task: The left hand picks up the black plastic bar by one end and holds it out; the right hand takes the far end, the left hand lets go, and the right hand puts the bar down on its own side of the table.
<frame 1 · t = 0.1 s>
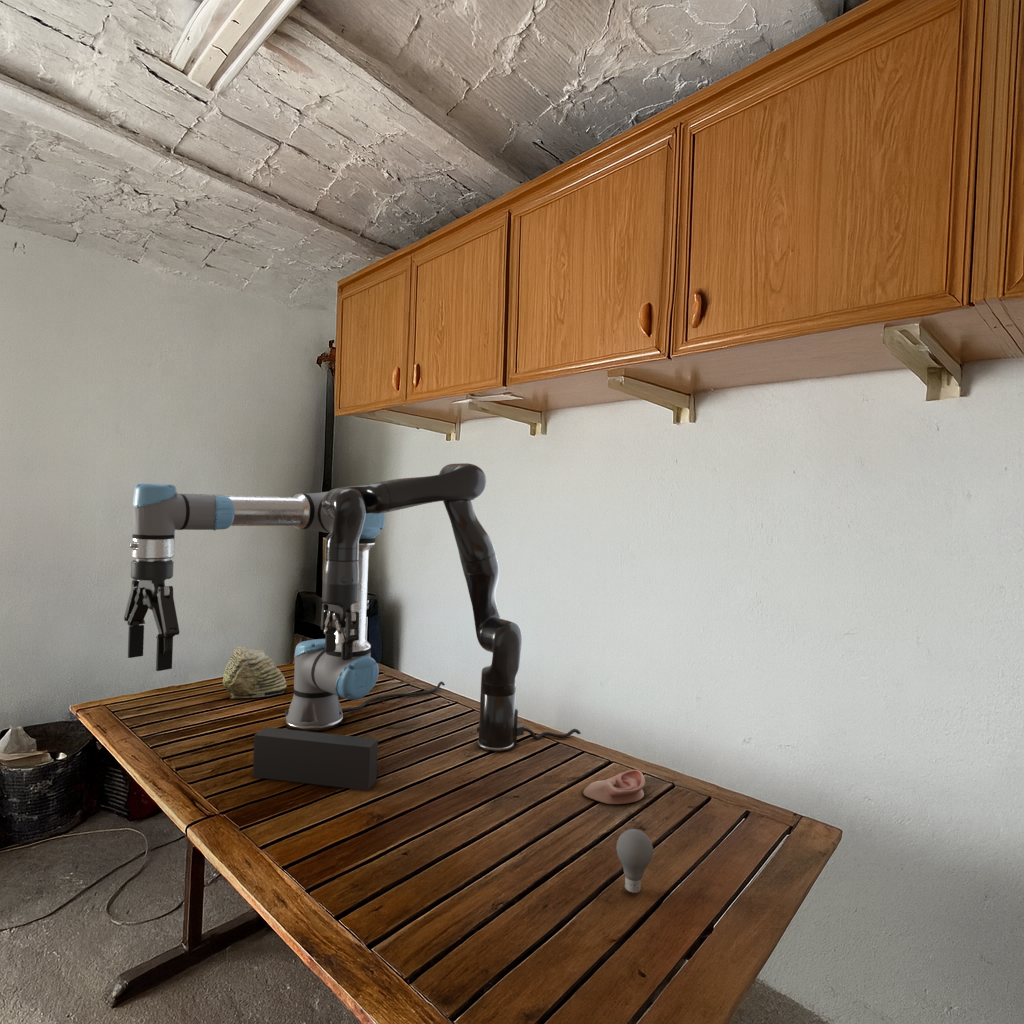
left hand: (149, 663, 129), 28 cm above the table, tool pointing down, fingers open, 13 cm apart
right hand: (338, 655, 137), 29 cm above the table, tool pointing down, fingers open, 8 cm apart
light bulb: (632, 891, 106), on the table
anatomical model: (614, 793, 141), on the table
bar: (314, 779, 142), on the table
fossil: (254, 694, 198), on the table
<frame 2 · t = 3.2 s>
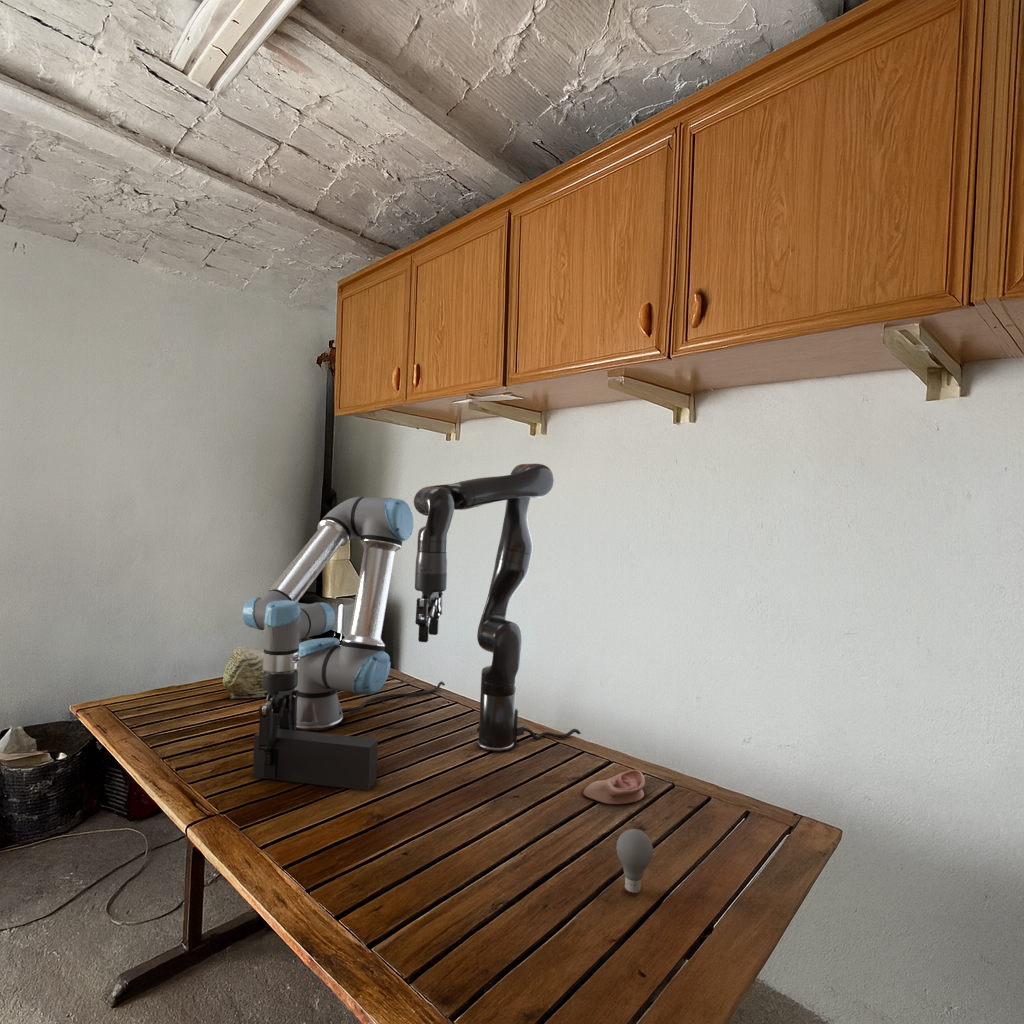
left hand: (276, 772, 143), 1 cm above the table, tool pointing down, fingers closed on bar, 5 cm apart
right hand: (428, 638, 151), 31 cm above the table, tool pointing down, fingers open, 8 cm apart
bar: (314, 779, 142), on the table, touching left hand
everything else where it was.
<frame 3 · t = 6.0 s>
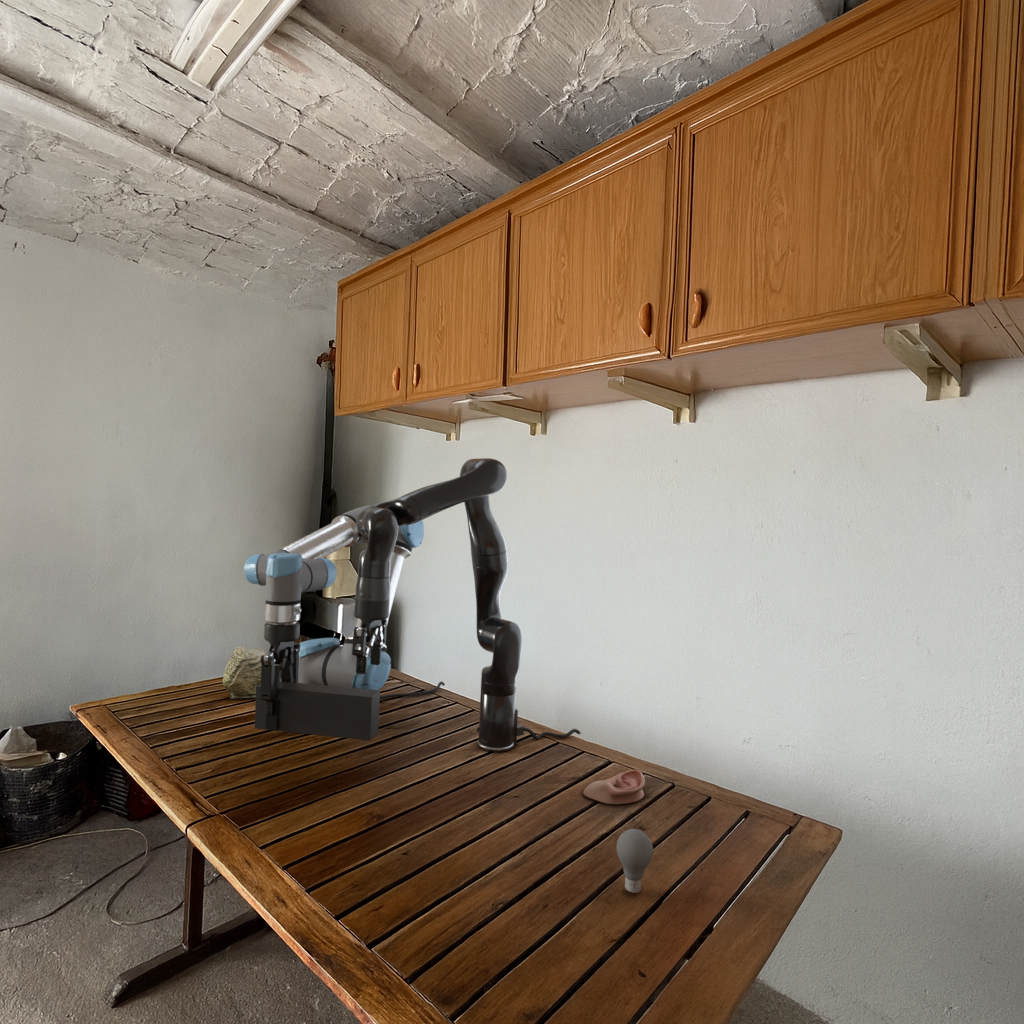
left hand: (278, 724, 143), 12 cm above the table, tool pointing down, fingers closed on bar, 5 cm apart
right hand: (368, 668, 142), 25 cm above the table, tool pointing down, fingers open, 8 cm apart
bar: (316, 730, 142), point 11 cm above the table, touching left hand
everything else where it was.
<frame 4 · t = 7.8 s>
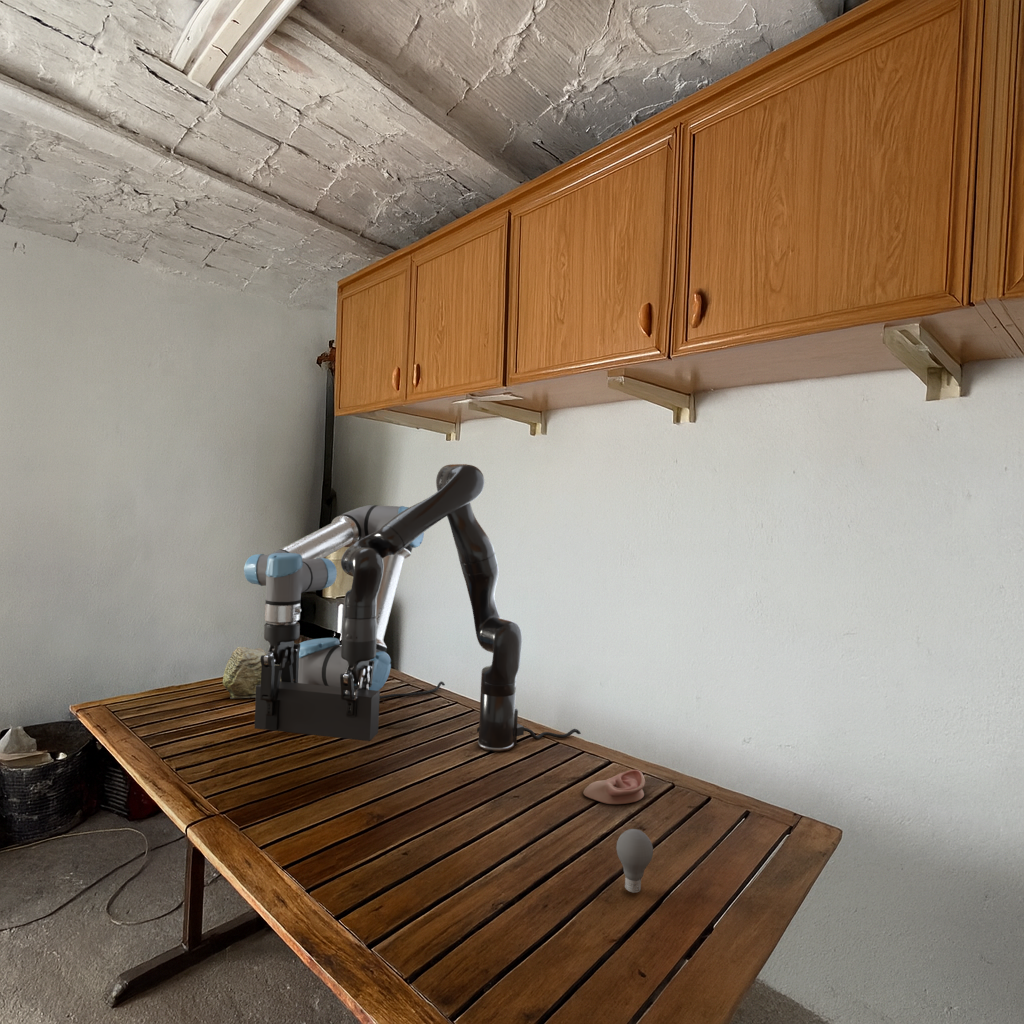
left hand: (278, 724, 143), 12 cm above the table, tool pointing down, fingers closed on bar, 5 cm apart
right hand: (356, 712, 140), 16 cm above the table, tool pointing down, fingers closed on bar, 5 cm apart
bar: (316, 730, 142), point 11 cm above the table, touching left hand, right hand
everything else where it was.
when the left hand's fingers open (12 cm above the table, at t = 8.7 s): bar stays where it is, held by the right hand.
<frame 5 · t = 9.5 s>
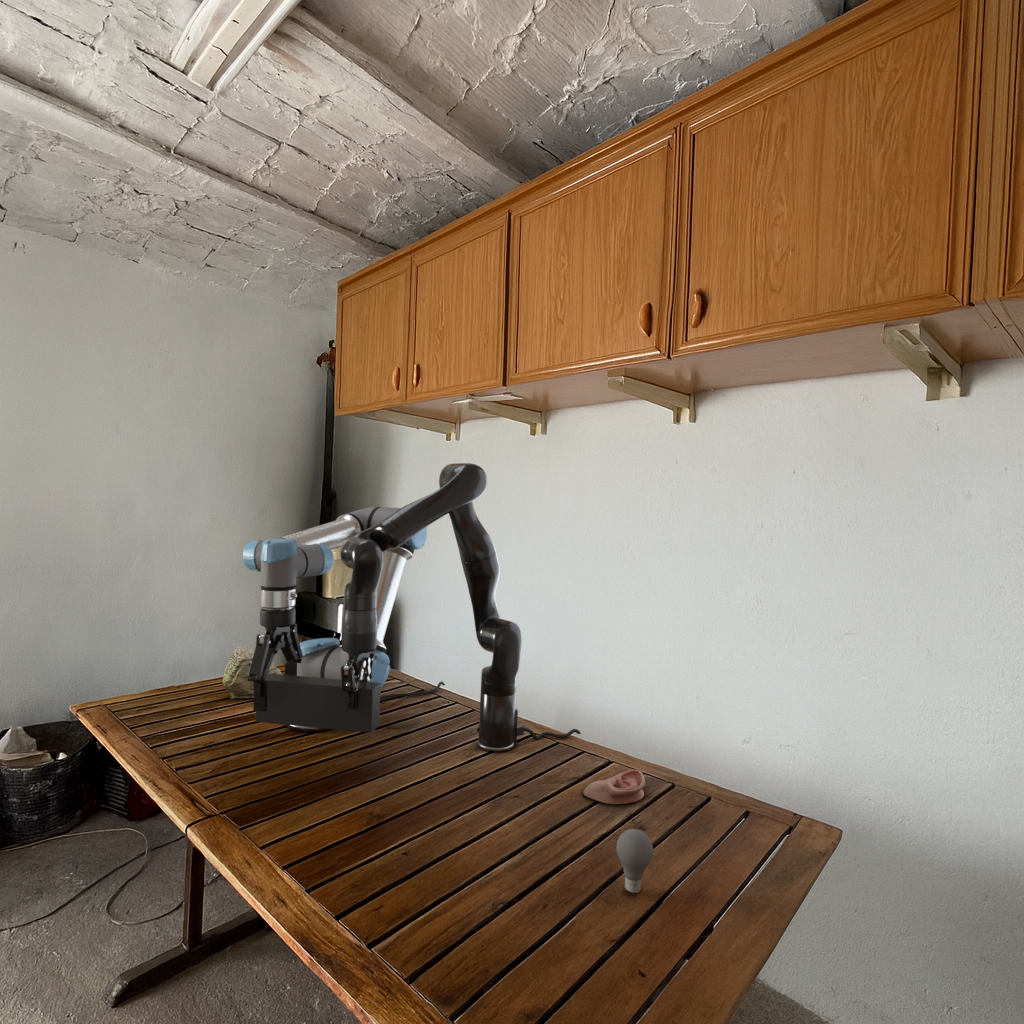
left hand: (276, 700, 144), 17 cm above the table, tool pointing down, fingers open, 13 cm apart
right hand: (357, 704, 140), 18 cm above the table, tool pointing down, fingers closed on bar, 5 cm apart
bar: (317, 723, 142), point 13 cm above the table, touching right hand
everything else where it was.
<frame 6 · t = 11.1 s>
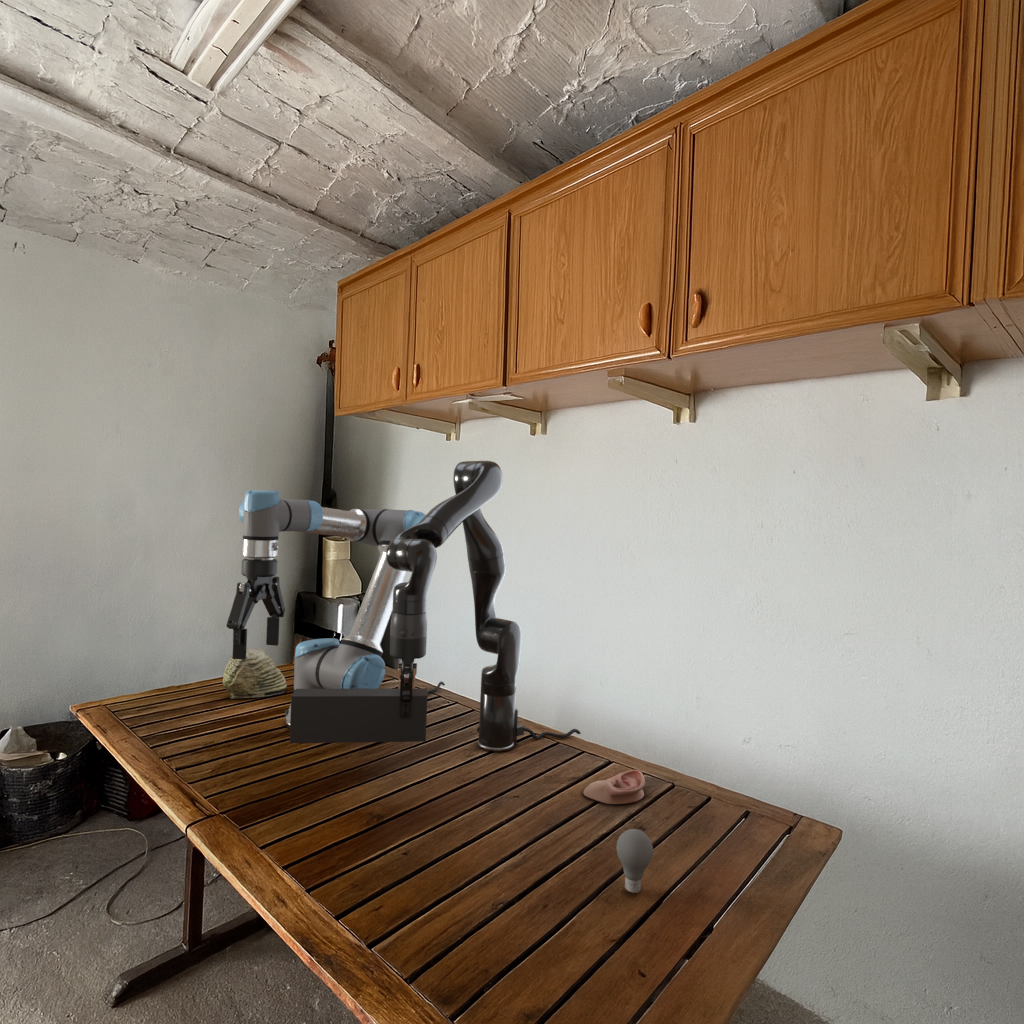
left hand: (256, 651, 144), 27 cm above the table, tool pointing down, fingers open, 13 cm apart
right hand: (405, 713, 133), 19 cm above the table, tool pointing down, fingers closed on bar, 5 cm apart
bar: (359, 737, 131), point 14 cm above the table, touching right hand
everything else where it was.
when the right hand's fingers open (6 cm above the table, at t = 14.7 s): bar drops 1 cm, on the table.
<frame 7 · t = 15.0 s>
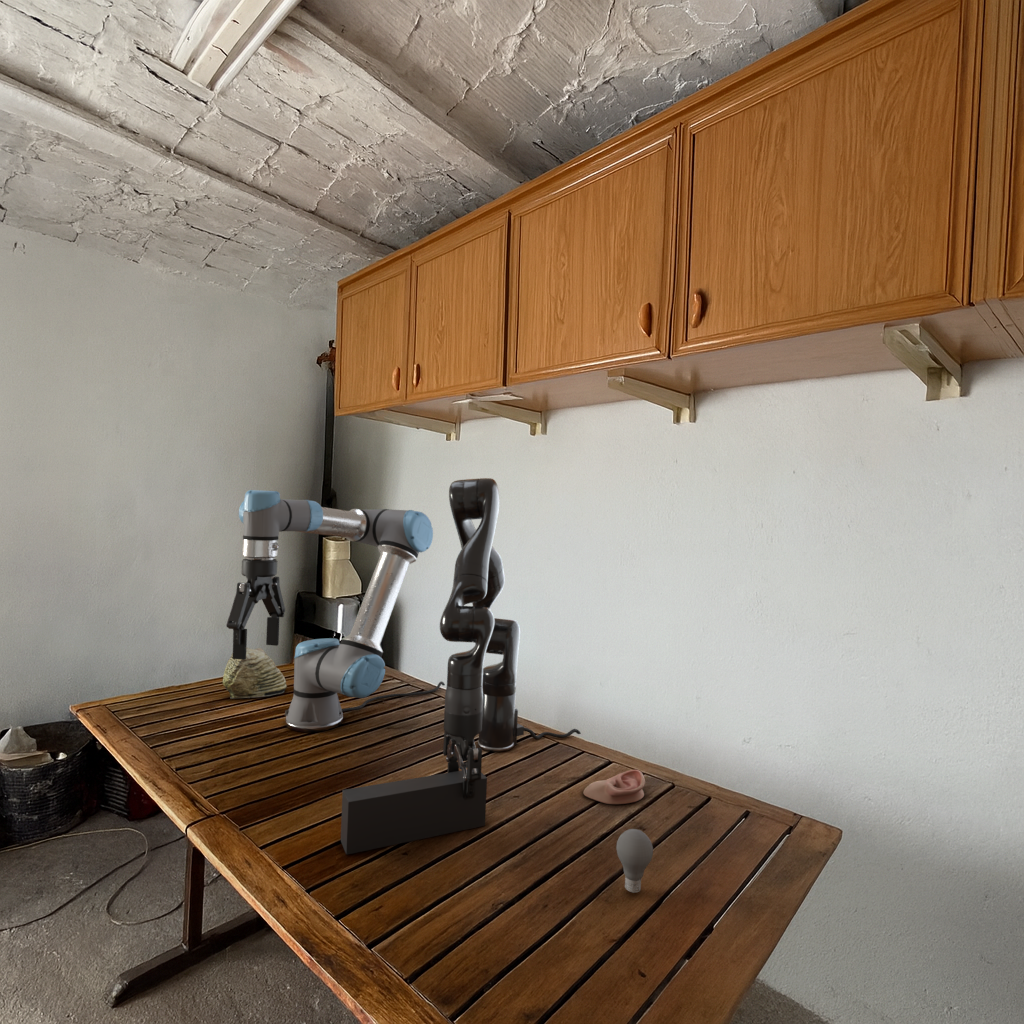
left hand: (256, 651, 144), 27 cm above the table, tool pointing down, fingers open, 13 cm apart
right hand: (460, 789, 125), 7 cm above the table, tool pointing down, fingers open, 8 cm apart
bar: (415, 833, 121), on the table
everything else where it was.
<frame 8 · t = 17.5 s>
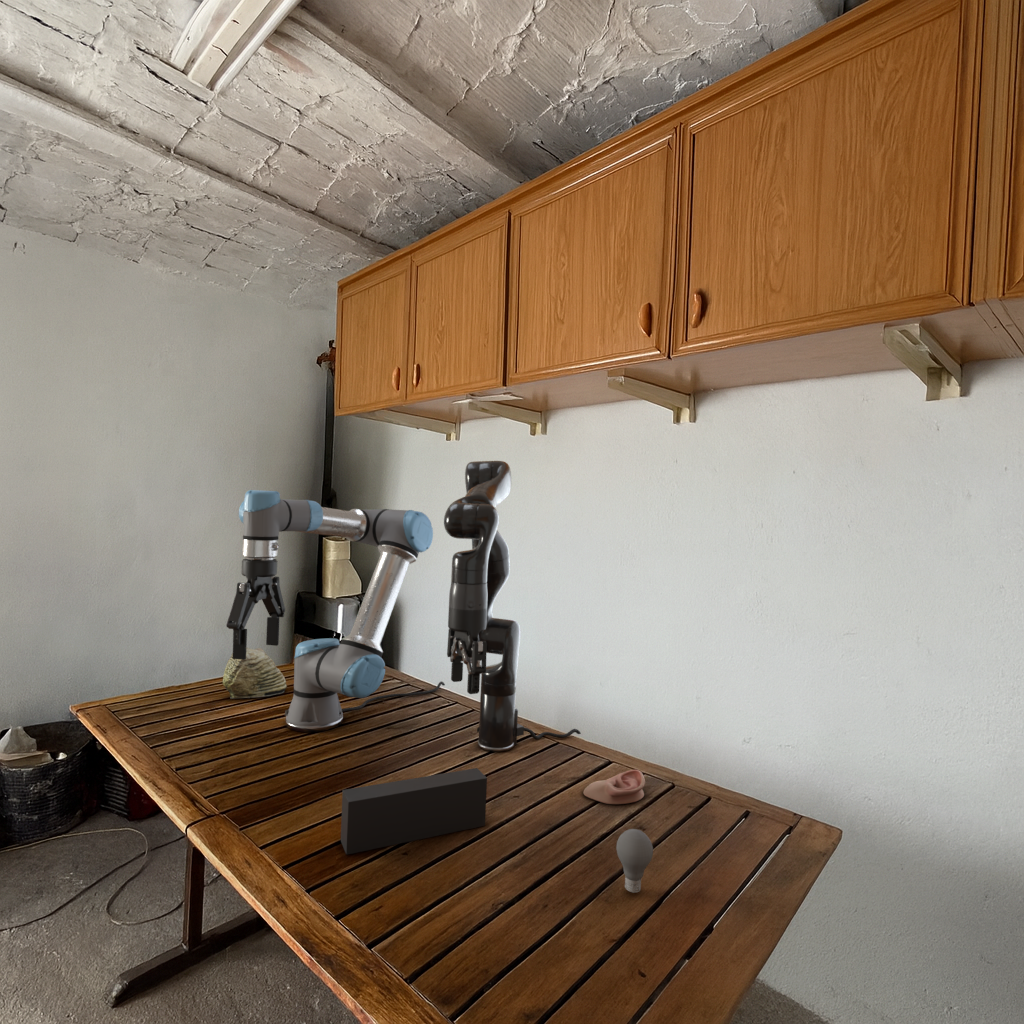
left hand: (256, 651, 144), 27 cm above the table, tool pointing down, fingers open, 13 cm apart
right hand: (464, 687, 124), 27 cm above the table, tool pointing down, fingers open, 8 cm apart
nothing on the table moved.
at the end: bar inside the target area (9.0 cm from its centre), on the table; the left hand is holding nothing; the right hand is holding nothing; bar at rest at the end (0.0 cm/s) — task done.
